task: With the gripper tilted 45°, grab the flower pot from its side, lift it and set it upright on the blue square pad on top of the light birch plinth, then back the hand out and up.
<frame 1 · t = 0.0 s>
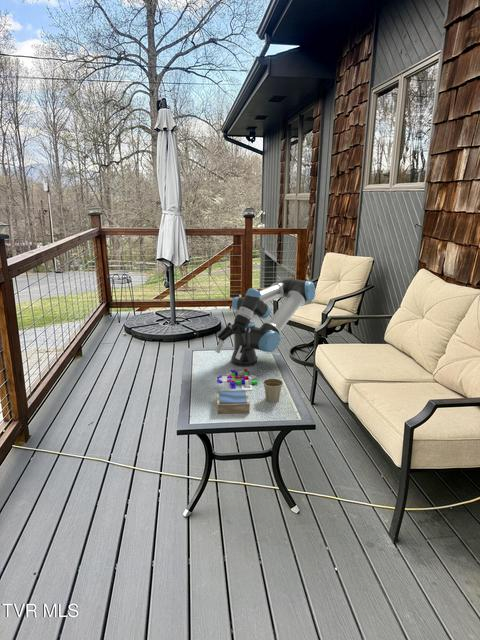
hand: (227, 355, 212), 15 cm above the table, tool tilted 35°, fingers open, 13 cm apart
building block set: (237, 381, 221), on the table
plinth: (232, 406, 193), on the table
flower pot: (272, 399, 200), on the table
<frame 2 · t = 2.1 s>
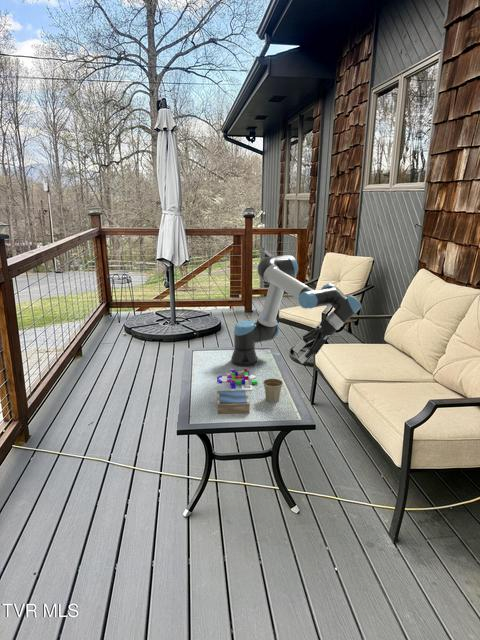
hand: (297, 356, 194), 21 cm above the table, tool tilted 45°, fingers open, 13 cm apart
nothing on the table moved.
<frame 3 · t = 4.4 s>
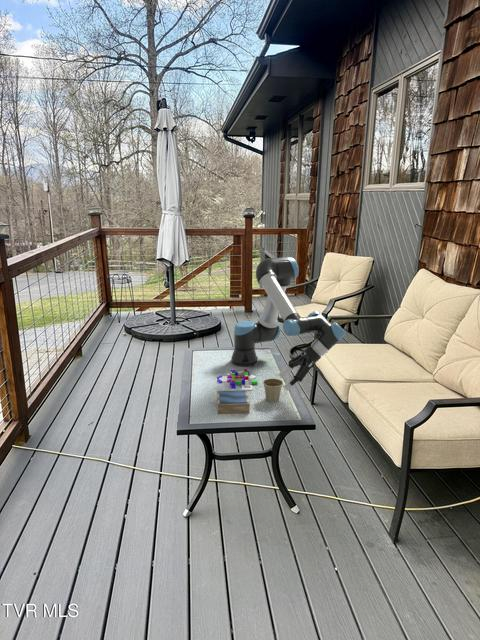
hand: (282, 382, 197), 9 cm above the table, tool tilted 45°, fingers open, 13 cm apart
nothing on the table moved.
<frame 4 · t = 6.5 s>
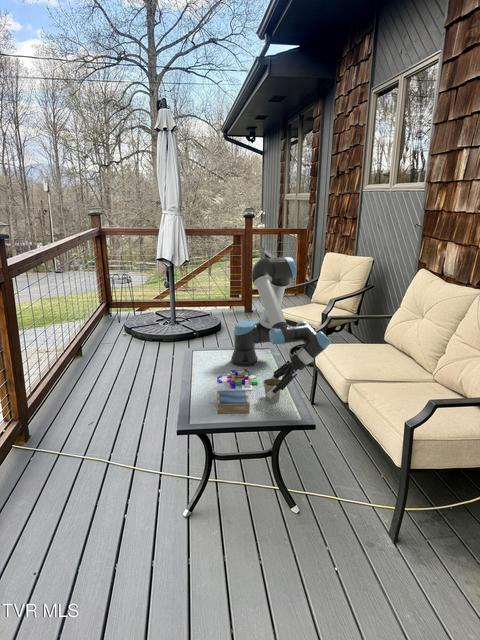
hand: (266, 391, 198), 4 cm above the table, tool tilted 45°, fingers closed on flower pot, 9 cm apart
flower pot: (272, 399, 200), on the table, touching gripper
everything else where it was.
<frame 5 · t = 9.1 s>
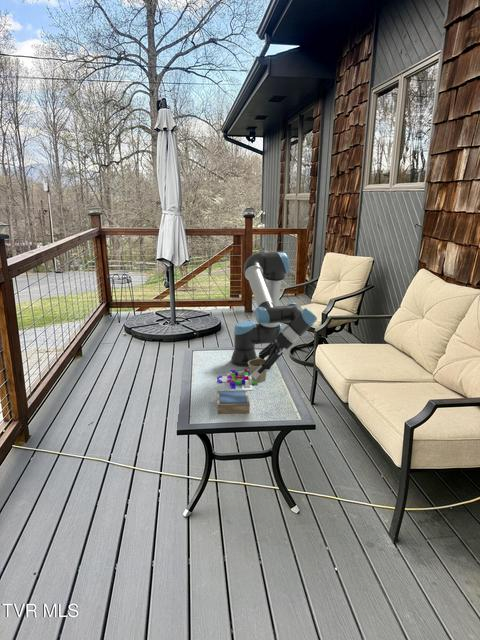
hand: (251, 372, 191), 15 cm above the table, tool tilted 45°, fingers closed on flower pot, 9 cm apart
flower pot: (258, 380, 192), point 11 cm above the table, touching gripper
everything else where it was.
when the fingers open (10 cm above the table, at t = 11.6 s): flower pot drops 1 cm, resting on plinth.
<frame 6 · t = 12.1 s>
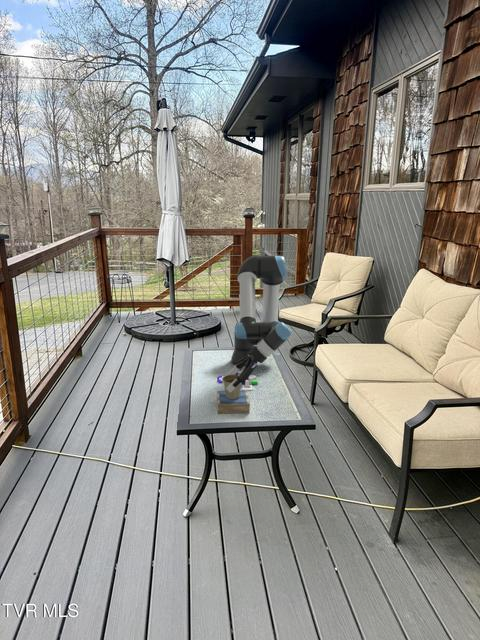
hand: (227, 383, 189), 11 cm above the table, tool tilted 45°, fingers open, 13 cm apart
flower pot: (232, 396, 191), point 5 cm above the table, touching plinth
everything else where it was.
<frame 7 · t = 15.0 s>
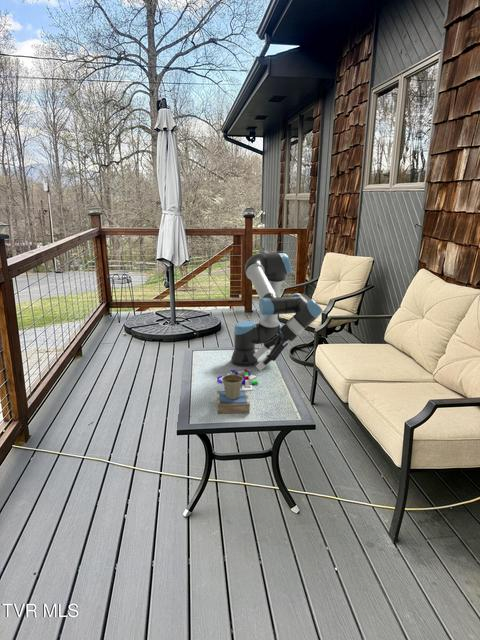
hand: (256, 362, 187), 21 cm above the table, tool tilted 45°, fingers open, 13 cm apart
nothing on the table moved.
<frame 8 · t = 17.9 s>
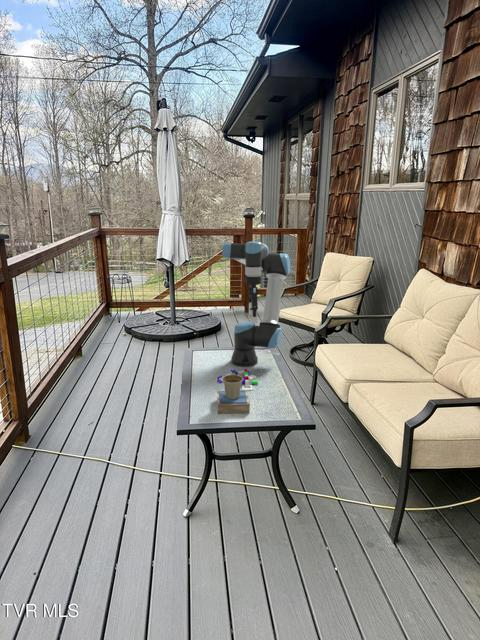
hand: (252, 319, 205), 35 cm above the table, tool pointing down, fingers open, 13 cm apart
nothing on the table moved.
at the end: flower pot inside the target area on the plinth (0.1 cm from its centre), point 4.8 cm above the plinth's base; flower pot tilted 0°; the gripper is holding nothing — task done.
